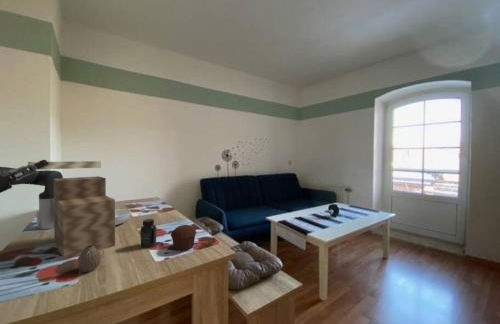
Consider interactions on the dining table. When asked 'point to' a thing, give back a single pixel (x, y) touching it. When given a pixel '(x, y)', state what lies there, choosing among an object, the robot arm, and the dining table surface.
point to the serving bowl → (121, 216)
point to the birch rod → (70, 164)
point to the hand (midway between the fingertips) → (46, 161)
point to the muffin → (183, 237)
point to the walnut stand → (82, 215)
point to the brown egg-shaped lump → (89, 259)
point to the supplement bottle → (148, 233)
